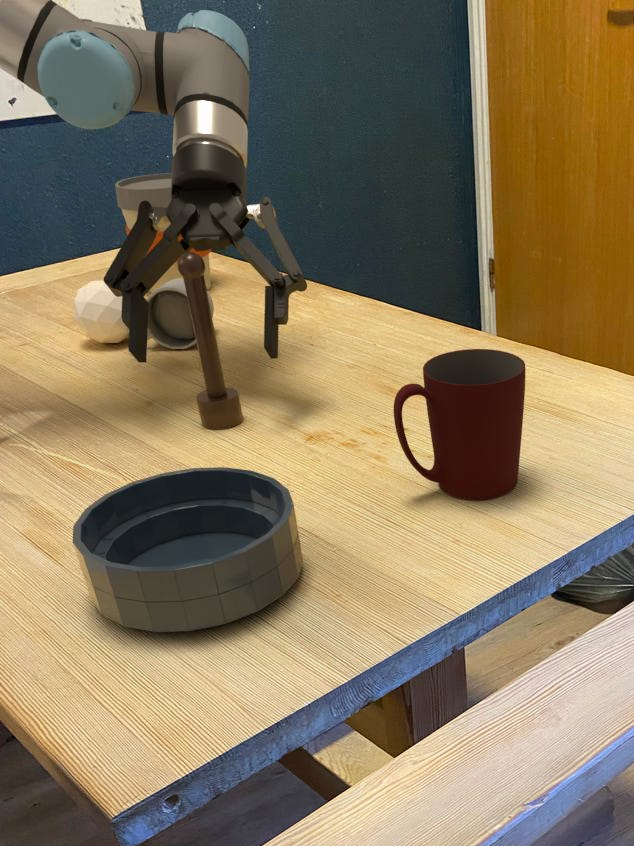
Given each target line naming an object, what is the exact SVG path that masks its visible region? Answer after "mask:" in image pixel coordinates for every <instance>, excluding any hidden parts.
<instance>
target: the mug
mask: <svg viewBox="0 0 634 846" xmlns="http://www.w3.org/2000/svg"><path fill="white" fill-rule="evenodd" d="M422 376H423V385H421V384H418V383H408V384H407V383H406V384H405V385H403V386H401V388H399V389H398V390H397V392H396V394H395V397H394V400H393V422H394V427H395V430H396V431H395V432H396V435H397V439H398V442H399V444H400V446H401V449H402V451H403V453H404V455H405V457H406V459H407V461H408V462H409V464H410V465H411V466H412V467H413V468H414V470H416V472H418V474H419V475H421V476H422V477H424V478H425V479H426V480H428V481H430V482H433V483H437V484H438V486H439V489H441V491H442V492H444V493H446V494H447V495H449V496H451V497H454V498H458V499H463V500H473V501H475V500H476V501H477V500H489V499H494V498H498V497H501V496H504V495H506V494H508V493H510V492H511V491H512V490H514V489H515V488H516V486H517V485H518V480H519V471H520V460H521V459H520V458H521V448H522V447H521V446H522V434H523V423H524V409H525V397H526V394H525V393H526V362H525V361H524V360H523V359H522V358H521V357H520V356H518V355H516V354H513V353H511V352H507V351H503V350H498V349H488V348H468V349H458V350H454V351H448V352H445V353H444V352H443V353H441V354H438V355H436V356H433V357H432V358H430V359H428V360H427V361H426V362H425V363H424V364H423V366H422ZM414 396H421V397H423V398H424V399H425V405H426V410H427V417H428V418H427V420H428V424H429V431H430V439H431V445H432V452H433V465H432V467H431V468H430V469H427V468H425V467H424V466H422V464H420V463H419V461H418V460H417V459H416V457H415V456H414V453H413V452H412V450H411V447H410V445H409V442H408V439H407V435H406V433H405V427H404V421H403V407H404V404H405V403H406V401H407V400H408V399H409V398H411V397H414Z"/></svg>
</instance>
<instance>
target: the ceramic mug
mask: <svg viewBox="0 0 634 846" xmlns="http://www.w3.org/2000/svg"><path fill="white" fill-rule="evenodd" d="M207 294H208V299H209V304H210V309H211V314H212V319H213V318H214V313H215V307H214V301H213V299H212V296H211V294H210V293H209V291H208V290H207ZM145 299H146V300H147V302H148V303H149V308H148V332H147V341H148V340H150V339H152V340H154V341H155V342H156V343H158V345H160V346H162V347H164V348H167V349H170V350H175V349H182V350H187V349H189V348H191V347H193V346H195V345H197V342H196V337H195V333H194V328H193V323H192V318H191V313H190V308H189V304H188V299H187V294H186V289H185V284H184V280H183V278H177V279H172V280H170V281H168V282H167V283H165V284H164V285H163V286H161V287H160V288H158V289H157V290H155V291H154V292H152V293H151V292H150V294H149V295H148V296H147V298H145Z"/></svg>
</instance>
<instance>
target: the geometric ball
mask: <svg viewBox="0 0 634 846" xmlns="http://www.w3.org/2000/svg"><path fill="white" fill-rule="evenodd" d="M73 313H74V315H73V316H74V322H75V323H76V324H77V326H78V327H79V328H80V329H81V331H82V332H83V333H84V334H85V335H86V337H88V338H90V339H92V340H93V341H94V340H95V341H96V342H97V343H101V344H118V343H121V342H122V341H124V340H125V339H126V338H129V329H128V328H127V326H126V325H125V324H124V323H123V321H122V318H121V313H122V296H121V297H117V296H115V295H114V294H113V293H112V291H111V290H110V289H109V288H108V286H107V285H106V284H105V282H104V280H91V281H90V282H88V283H86V284H85V285H83V286H82V287H80V288H78V289H77V292H76V295H75V298H74V300H73Z"/></svg>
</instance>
